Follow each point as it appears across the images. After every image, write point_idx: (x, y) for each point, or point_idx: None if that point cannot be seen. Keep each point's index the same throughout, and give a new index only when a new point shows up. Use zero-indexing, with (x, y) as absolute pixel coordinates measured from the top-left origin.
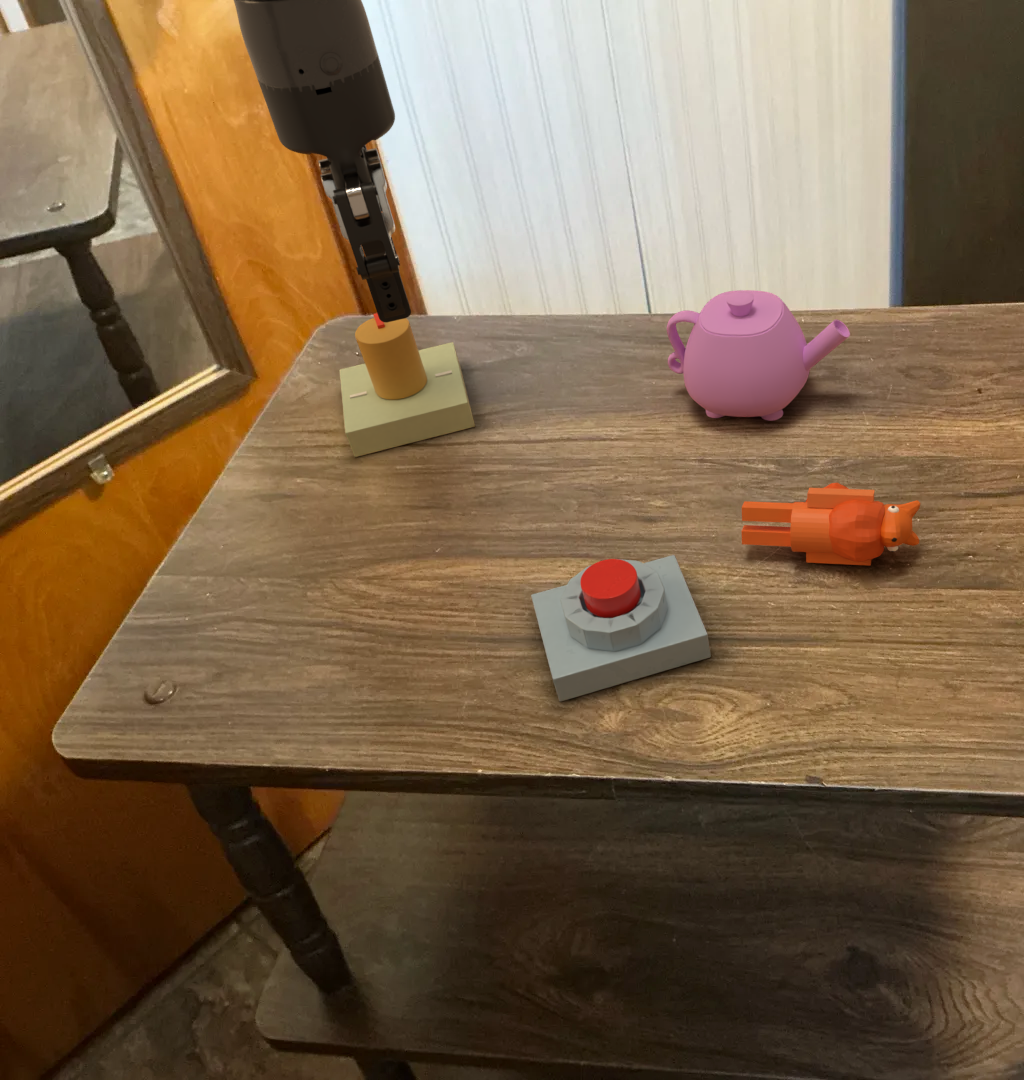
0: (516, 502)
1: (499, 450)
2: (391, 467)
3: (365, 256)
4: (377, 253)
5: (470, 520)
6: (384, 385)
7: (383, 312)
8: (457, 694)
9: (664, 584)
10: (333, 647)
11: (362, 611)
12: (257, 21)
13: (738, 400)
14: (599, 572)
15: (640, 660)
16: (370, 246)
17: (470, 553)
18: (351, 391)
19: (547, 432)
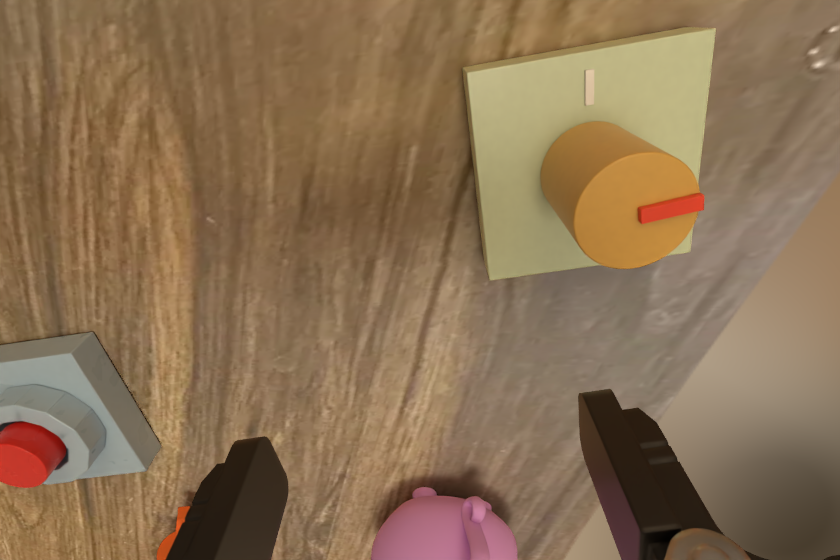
0: (299, 311)
1: (416, 291)
2: (416, 137)
3: (593, 415)
4: (592, 445)
5: (269, 258)
6: (554, 161)
7: (202, 484)
8: None
9: (100, 461)
10: (4, 86)
11: (81, 123)
12: None
13: (374, 548)
14: (20, 460)
15: None
16: (601, 458)
17: (202, 260)
18: (612, 68)
19: (439, 345)
